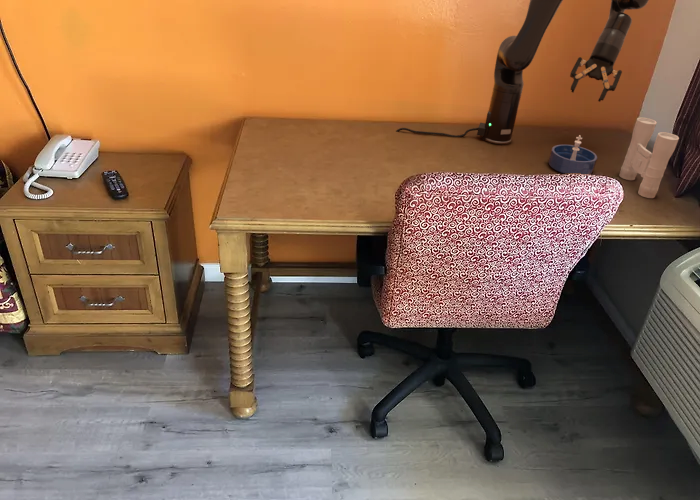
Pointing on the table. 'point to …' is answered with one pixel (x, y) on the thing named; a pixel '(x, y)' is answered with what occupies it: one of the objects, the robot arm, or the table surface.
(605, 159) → the table surface
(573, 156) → the chess piece
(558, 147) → the bowl
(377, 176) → the table surface
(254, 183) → the table surface
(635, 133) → the binoculars
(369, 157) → the table surface
